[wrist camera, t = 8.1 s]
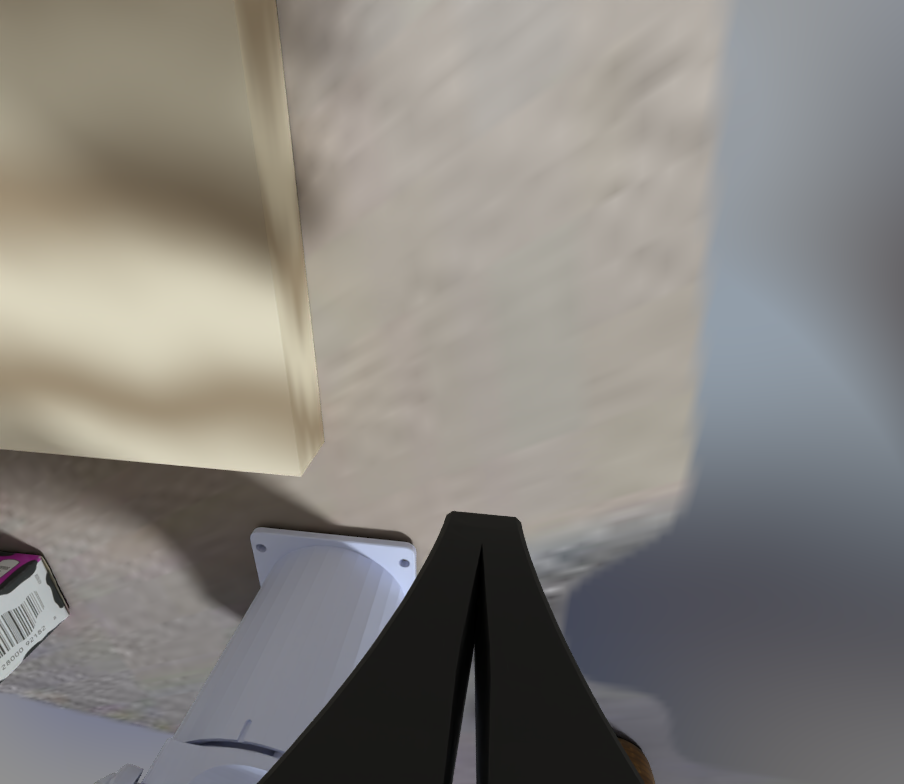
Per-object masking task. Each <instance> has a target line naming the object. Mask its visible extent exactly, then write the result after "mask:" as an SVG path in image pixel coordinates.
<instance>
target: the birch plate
mask: <svg viewBox="0 0 904 784" xmlns="http://www.w3.org/2000/svg"><path fill="white" fill-rule="evenodd" d="M323 443H324V433H323V424H322V415H321V406H320V397H319V388H318V379H317V369H316V360H315V351H314V342H313V333H312V324H311V315H310V306H309V297H308V288H307V279H306V270H305V261H304V251H303V242H302V233H301V224H300V215H299V206H298V197H297V188H296V179H295V170H294V161H293V152H292V143H291V134H290V124H289V115H288V106H287V97H286V88H285V79H284V70H283V61H282V52H281V43H280V34H279V25H278V16H277V6H276V0H0V449H5V450H16V451H26V452H37V453H48V454H59V455H70V456H81V457H92V458H103V459H113V460H124V461H135V462H146V463H157V464H168V465H179V466H190V467H200V468H211V469H222V470H233V471H244V472H255V473H266V474H277V475H287V476H298V477H301V476H302V475H303V473H304V472H305V470H306V469H307V467H308V466H309V464H310V463H311V461H312V460H313V458H314V457H315V455H316V454H317V452H318V451H319V449H320V448H321V446H322V445H323Z"/></svg>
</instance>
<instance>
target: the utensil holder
mask: <svg viewBox="0 0 904 784" xmlns="http://www.w3.org/2000/svg"><path fill="white" fill-rule="evenodd" d="M617 738H618V737H617ZM618 740H619V741H620V743H621V745H622V747H623V748H624V750H625V752H626V753H627V755H628V756H629V758H630V760H631V761H632V763H633V765H634V766H635V768H636V769H637V771H638V773H639V774H640V776H641V778H642V779H643V781H644V783H645V784H655V781H654V777H653V774H652V770H651V768H650V765H649V762H648V760H647V758H646V757H645V755H644V754H643V752H642V751H641V750H640V749H639V748H638V747H636V746H635V745H633V744H632V743H630V742H628V741H626V740H624V739H621V738H618Z"/></svg>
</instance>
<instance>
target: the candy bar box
mask: <svg viewBox="0 0 904 784" xmlns="http://www.w3.org/2000/svg"><path fill="white" fill-rule="evenodd" d="M69 614H70V611H69V609H68V606H67V604H66V602H65V600H64V598H63V596H62V594H61V592H60V590H59V588H58V586H57V584H56V580H55V579H54V577H53V575H52V573H51V570H50V568H49V567H48V565H47V563H46V562H45V560H44V558H43V557H42V556H40V555H30V554H20V553H8V552H0V683H1V682H2V681H3V680H4V679H5V678H6V677H7V676H8V675H9V674H10V673H11V672H12V671H13V670H14V669H16V668H17V667H18V666H19V665H20V663H21V662H22V661H23V660H24V659H25V658H26V657H27V656H28V655H29V654H30V653H31V652H32V651H33V650H34V649H35V648H36V647H37V646H38V645H39V644H40V643H41V642H42V641H44V640H45V639H46V637H47V636H48V635H49V634H51V633H52V632H53V630H54V629H55V628H56V627H57V626H58V625H59V624H60V623H61V622H62V621H64V620H65V619H66V618H67V617H68V616H69Z"/></svg>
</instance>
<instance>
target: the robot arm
mask: <svg viewBox="0 0 904 784" xmlns="http://www.w3.org/2000/svg"><path fill="white" fill-rule="evenodd" d="M250 540H251V545H252V550H253V554H254V559H255V563H256V568H257V573H258V577H259V582H260V586H261V588H260V590H259V592H258V593H257V595H256V597H255V598H254V600H253V602H252V603H251V605H250V607H249V609H248V610H247V612H246V614H245V615H244V617H243V619H242V621H241V622H240V624H239V626H238V627H237V629H236V631H235V632H234V634H233V636H232V638H231V639H230V641H229V643H228V644H227V646H226V648H225V649H224V651H223V653H222V655H221V656H220V658H219V660H218V661H217V663H216V665H215V667H214V668H213V670H212V672H211V673H210V675H209V677H208V678H207V680H206V682H205V684H204V685H203V687H202V689H201V690H200V692H199V694H198V695H197V697H196V699H195V701H194V702H193V704H192V706H191V707H190V709H189V711H188V713H187V714H186V716H185V718H184V719H183V721H182V723H181V724H180V726H179V728H178V730H177V731H176V733H175V735H174V736H173V738H169V739H167V741H166V742H165V744H164V745H163V747H162V749H161V750H160V752H159V754H158V756H157V758H156V759H155V761H154V762H153V764H152V766H151V767H150V769H149V771H148V772H147V774H146V776H145V777H144V779H143V781H142V782H141V784H452V782H453V775H454V769H455V762H456V756H457V750H458V744H459V737H460V731H461V725H462V718H463V712H464V706H465V700H466V693H467V687H468V681H469V675H470V668H471V662H472V656H473V649H474V652H475V718H476V780H477V783H476V784H645V783H644V781H643V779H642V778H641V776H640V774H639V773H638V771H637V769H636V768H635V766H634V765H633V763H632V761H631V760H630V758H629V756H628V755H627V753H626V752H625V750H624V748H623V747H622V745H621V743H620V741H619V740H618V738H617V736H616V734H615V733H614V731H613V729H612V728H611V726H610V724H609V722H608V721H607V719H606V717H605V715H604V714H603V712H602V710H601V708H600V707H599V705H598V703H597V701H596V699H595V697H594V696H593V694H592V692H591V690H590V688H589V686H588V684H587V683H586V681H585V679H584V677H583V675H582V673H581V671H580V669H579V667H578V665H577V663H576V661H575V659H574V657H573V655H572V653H571V651H570V649H569V647H568V645H567V643H566V641H565V639H564V637H563V635H562V632H561V630H560V628H559V626H558V624H557V622H556V619H555V617H554V615H553V612H552V610H551V608H550V605H549V603H548V601H547V599H546V596H545V594H544V592H543V589H542V587H541V584H540V582H539V579H538V577H537V574H536V571H535V568H534V566H533V563H532V560H531V557H530V554H529V551H528V548H527V545H526V541H525V538H524V534H523V530H522V525H521V522H520V521H519V520H518V519H517V518H516V517H508V516H498V515H487V514H477V513H467V512H456V511H452V512H451V513H449V514H448V515H446V518H445V521H444V524H443V527H442V529H441V531H440V534H439V536H438V538H437V540H436V542H435V544H434V546H433V548H432V550H431V552H430V554H429V556H428V558H427V560H426V561H425V563H424V565H423V567H422V569H421V570H420V572H419V574H418V575H417V577H416V549H415V547H414V546H413V545H412V544H410V543H408V542H401V541H391V540H382V539H372V538H362V537H352V536H343V535H333V534H323V533H313V532H304V531H294V530H284V529H274V528H264V527H258V528H256V529H254V531H253V532H252V534H251V535H250ZM263 545H264V546H263ZM402 559H405V560H408V561H404V560H402ZM142 772H143V769H142V768H140V767H137V766H135V765H132V764H126V765H124V766H123V767H122V768H121V769H120V770H119V771H118V772H117V773H112V774H111V775H108V776H106V777H104V778H102V779H100V780H98V781H97V782H95V783H94V784H140V783H137V782H138V780H139V778H140V776H141V774H142Z"/></svg>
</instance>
